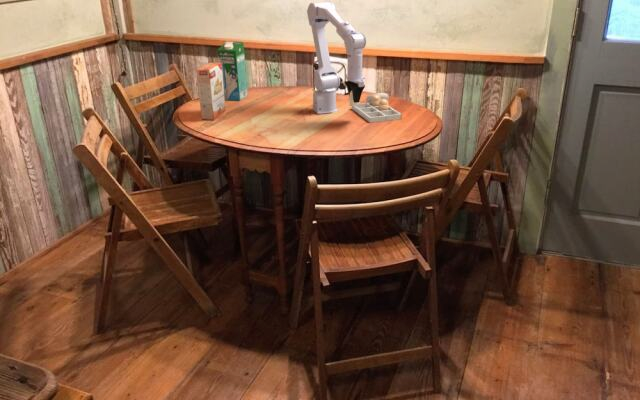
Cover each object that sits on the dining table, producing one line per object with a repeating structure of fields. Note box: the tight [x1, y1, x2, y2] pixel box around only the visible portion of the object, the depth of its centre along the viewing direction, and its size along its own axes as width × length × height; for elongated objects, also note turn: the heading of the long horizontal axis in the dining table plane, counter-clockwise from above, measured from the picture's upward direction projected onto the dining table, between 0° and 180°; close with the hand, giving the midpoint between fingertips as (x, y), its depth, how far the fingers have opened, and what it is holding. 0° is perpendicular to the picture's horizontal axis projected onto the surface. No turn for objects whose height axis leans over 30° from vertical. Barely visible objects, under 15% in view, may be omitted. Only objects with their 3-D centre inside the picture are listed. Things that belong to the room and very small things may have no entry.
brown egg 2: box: [379, 99, 389, 111], centre depth 227 cm, size 4×4×6 cm
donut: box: [365, 92, 390, 103], centre depth 239 cm, size 10×4×10 cm
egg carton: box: [351, 102, 403, 124], centre depth 227 cm, size 14×20×2 cm
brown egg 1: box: [371, 95, 381, 107], centre depth 233 cm, size 4×4×6 cm
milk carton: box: [217, 41, 249, 102], centre depth 250 cm, size 9×9×25 cm
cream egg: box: [348, 91, 361, 107], centre depth 215 cm, size 4×4×6 cm
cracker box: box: [196, 62, 226, 121], centre depth 227 cm, size 14×6×21 cm, turn 168°
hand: (354, 100), depth 216 cm, fingers closed on cream egg, 4 cm apart
